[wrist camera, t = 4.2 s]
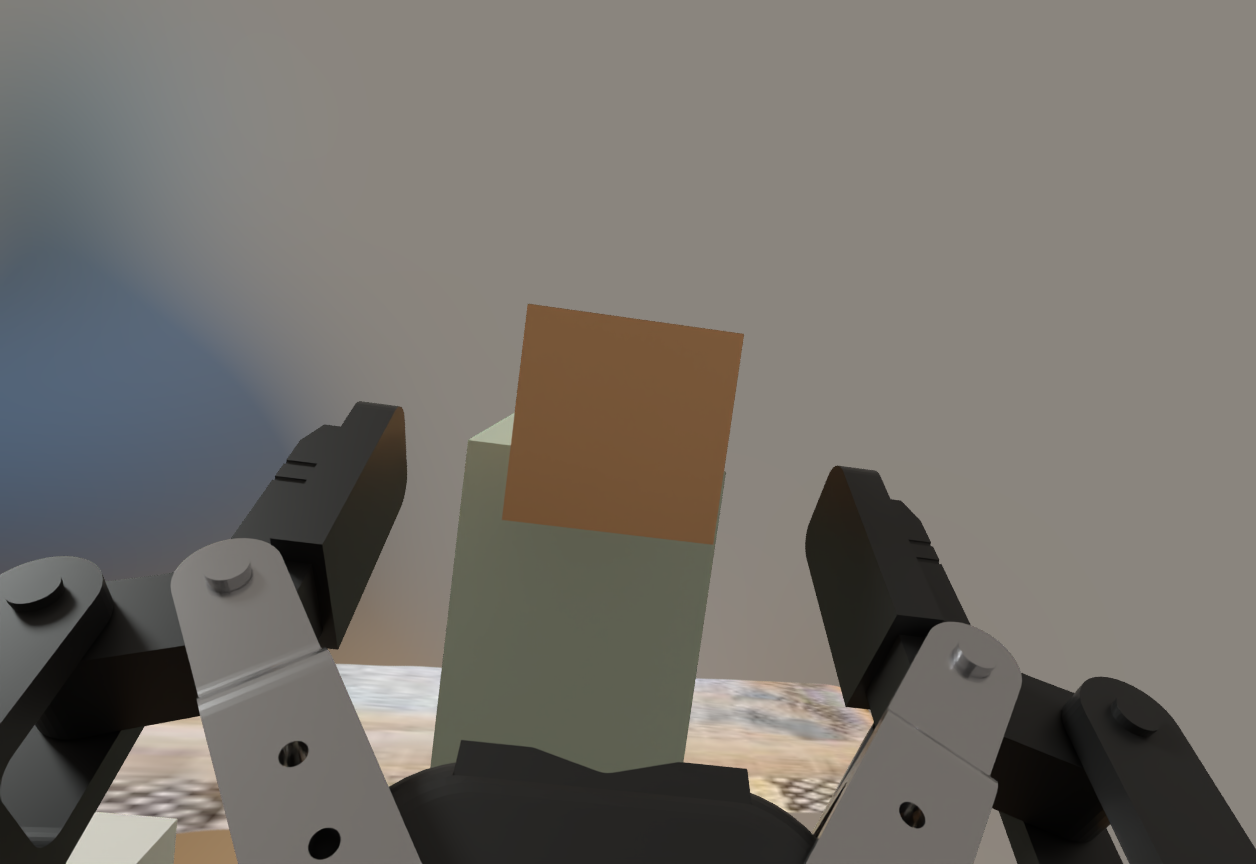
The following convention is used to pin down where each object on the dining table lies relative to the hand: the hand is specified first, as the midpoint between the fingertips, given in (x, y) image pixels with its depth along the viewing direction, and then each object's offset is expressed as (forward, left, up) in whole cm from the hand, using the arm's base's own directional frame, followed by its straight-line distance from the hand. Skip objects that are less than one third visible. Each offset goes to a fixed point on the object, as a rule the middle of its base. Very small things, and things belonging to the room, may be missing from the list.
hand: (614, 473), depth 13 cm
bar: (0, +11, -1) cm, 11 cm away
